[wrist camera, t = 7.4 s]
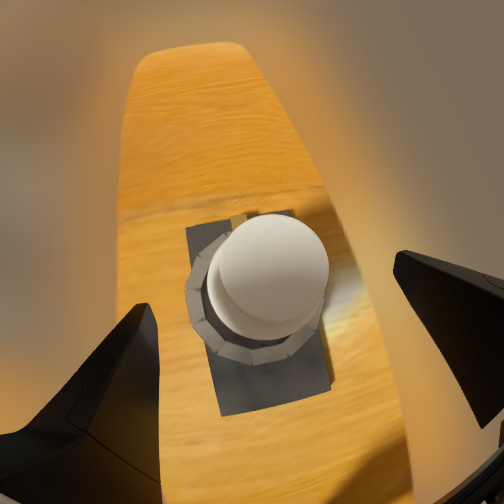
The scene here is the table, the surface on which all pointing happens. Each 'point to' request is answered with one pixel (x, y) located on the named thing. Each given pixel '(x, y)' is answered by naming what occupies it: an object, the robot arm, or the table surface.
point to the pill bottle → (268, 277)
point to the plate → (264, 375)
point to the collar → (213, 337)
